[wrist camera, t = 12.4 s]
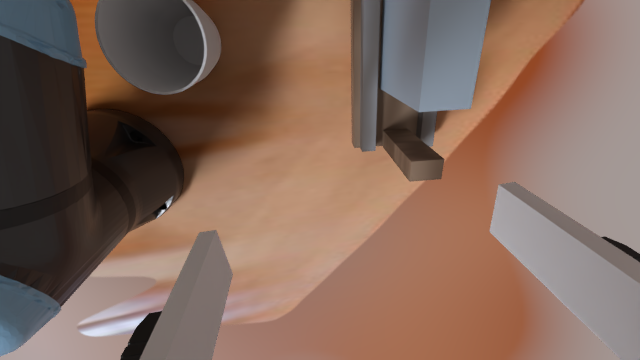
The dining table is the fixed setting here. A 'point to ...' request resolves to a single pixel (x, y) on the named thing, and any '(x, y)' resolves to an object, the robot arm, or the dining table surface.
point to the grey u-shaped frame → (386, 103)
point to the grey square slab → (432, 51)
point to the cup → (158, 42)
